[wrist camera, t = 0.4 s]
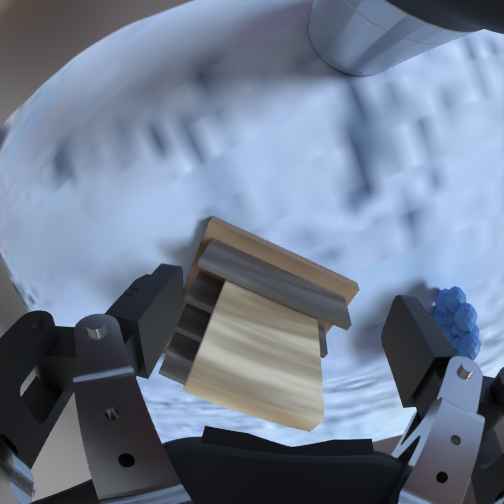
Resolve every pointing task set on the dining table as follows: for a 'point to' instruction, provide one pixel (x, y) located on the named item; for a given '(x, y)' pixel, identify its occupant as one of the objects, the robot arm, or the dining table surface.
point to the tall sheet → (260, 360)
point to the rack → (256, 279)
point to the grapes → (458, 322)
